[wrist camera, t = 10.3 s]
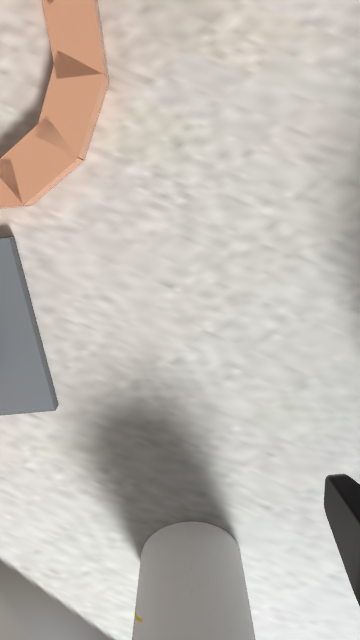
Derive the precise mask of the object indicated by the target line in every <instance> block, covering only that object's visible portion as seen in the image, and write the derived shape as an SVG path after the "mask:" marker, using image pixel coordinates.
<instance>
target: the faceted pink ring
mask: <svg viewBox="0 0 360 640" xmlns="http://www.w3.org/2000/svg"><path fill="white" fill-rule="evenodd" d="M42 4H43V9H44V14H45V20H46V25H47V30H48V35H49V41H50V46H51V51H52V56H53V62H54V66H53V70H52V73H51V77H50V81H49V85H48V88H47V92H46V96H45V100H44V103H43V107H42V111H41V115H40V118H39V122H38V124H37V125H36V126H35V127H34V128H33V129H32V130H31V131H30V132H29V133H28V134H27V135H25V136H24V137H23V138H22V139H21V140H20V141H19V142H18V143H17V144H16V145H15V146H13V147H12V148H11V149H10V150H9V151H8V152H7V153H6V154H5V155H4V156H3V157H1V158H0V209H4V208H13V207H22V206H31V205H33V204H34V203H35V202H36V201H37V200H39V199H40V198H41V197H42V196H43V195H44V194H46V193H47V192H48V191H49V190H50V189H51V188H53V187H54V186H55V185H56V184H57V183H58V182H60V181H61V180H62V179H63V178H64V177H66V176H67V175H68V174H69V173H70V172H71V171H73V170H74V169H75V168H76V167H77V166H78V165H80V164H81V163H82V162H83V161H84V160H85V156H86V153H87V150H88V147H89V144H90V141H91V138H92V135H93V131H94V128H95V125H96V122H97V119H98V116H99V113H100V109H101V106H102V103H103V100H104V97H105V94H106V91H107V88H108V84H109V76H108V69H107V63H106V56H105V49H104V42H103V35H102V28H101V21H100V14H99V7H98V1H97V0H42Z"/></svg>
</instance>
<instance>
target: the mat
mask: <svg viewBox="0 0 360 640" xmlns="http://www.w3.org/2000/svg"><path fill="white" fill-rule="evenodd" d="M57 407H58V402H57V398H56V394H55V390H54V387H53V383H52V379H51V375H50V372H49V368H48V364H47V360H46V356H45V353H44V349H43V345H42V341H41V337H40V334H39V330H38V326H37V322H36V318H35V315H34V311H33V307H32V303H31V299H30V296H29V292H28V288H27V284H26V280H25V277H24V273H23V269H22V265H21V261H20V258H19V254H18V250H17V246H16V242H15V239H14V237H6V238H0V415H11V414H22V413H34V412H45V411H55V410H56V408H57Z"/></svg>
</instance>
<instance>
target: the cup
mask: <svg viewBox="0 0 360 640" xmlns="http://www.w3.org/2000/svg"><path fill="white" fill-rule="evenodd" d="M132 640H256V639H255V634H254V628H253V622H252V617H251V611H250V605H249V599H248V594H247V588H246V582H245V577H244V571H243V565H242V560H241V554H240V549H239V546H238V544H237V542H236V541H235V539H234V538H233V537H232V536H231V535H230V534H229V533H228V532H226V531H225V530H223V529H221V528H220V527H217V526H215V525H212V524H209V523H204V522H195V521H188V522H179V523H175V524H171V525H168V526H166V527H163V528H161V529H160V530H158V531H156V532H155V533H154V534H152V535H151V536H150V537H149V538H148V540H147V541H146V542H145V544H144V546H143V549H142V553H141V561H140V571H139V580H138V589H137V598H136V608H135V617H134V626H133V635H132Z"/></svg>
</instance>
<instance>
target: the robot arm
mask: <svg viewBox="0 0 360 640" xmlns="http://www.w3.org/2000/svg"><path fill="white" fill-rule="evenodd" d="M324 508H325V512H326V516H327V519H328V521H329V524H330V527H331V530H332V533H333V535H334V538H335V541H336V544H337V547H338V550H339V552H340V555H341V558H342V561H343V564H344V566H345V569H346V572H347V575H348V578H349V581H350V583H351V586H352V589H353V591H354V594H355V596H356V599H357V601H358V603H359V606H360V484H358V483H357V482H356V481H354V480H353V479H352V478H351V477H349V476H348V475H346V474H335V475H328V476H327V477H326V479H325V493H324Z"/></svg>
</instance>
